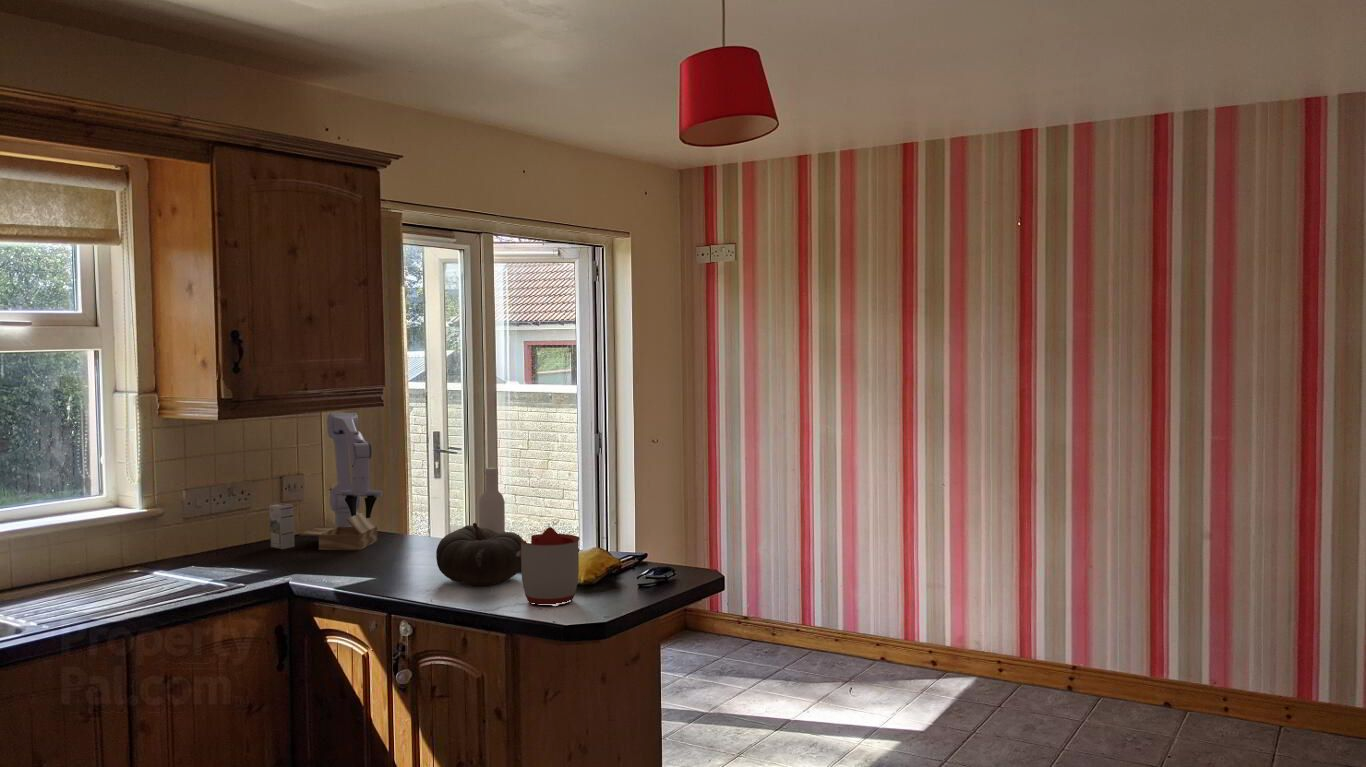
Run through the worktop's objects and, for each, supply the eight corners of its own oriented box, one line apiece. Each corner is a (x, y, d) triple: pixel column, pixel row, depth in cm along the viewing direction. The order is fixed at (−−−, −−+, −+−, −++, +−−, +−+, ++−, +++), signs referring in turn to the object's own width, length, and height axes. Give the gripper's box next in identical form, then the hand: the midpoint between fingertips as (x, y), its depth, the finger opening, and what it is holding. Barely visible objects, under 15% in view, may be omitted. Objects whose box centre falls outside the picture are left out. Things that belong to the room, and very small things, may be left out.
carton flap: (362, 512, 361) (363, 511, 361) (376, 527, 361) (377, 526, 361) (345, 519, 347) (346, 518, 347) (360, 534, 346) (361, 533, 346)
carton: (318, 540, 363) (318, 526, 363) (377, 541, 362) (377, 527, 362) (298, 549, 347) (298, 534, 347) (359, 550, 346) (359, 535, 346)
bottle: (475, 566, 320) (474, 469, 319) (485, 561, 328) (485, 466, 327) (499, 567, 318) (498, 470, 317) (509, 562, 326) (508, 467, 325)
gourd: (456, 560, 316) (462, 505, 313) (533, 576, 312) (540, 521, 309) (420, 587, 292) (426, 528, 289) (503, 605, 288) (511, 546, 285)
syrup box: (295, 546, 352) (294, 504, 351) (280, 549, 347) (279, 506, 346) (284, 545, 355) (283, 502, 354) (269, 547, 350) (268, 505, 349)
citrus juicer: (533, 592, 286) (532, 520, 285) (590, 598, 279) (589, 524, 279) (503, 605, 271) (502, 529, 270) (562, 612, 265) (562, 533, 264)
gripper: (335, 479, 350) (335, 519, 350) (377, 479, 349) (377, 519, 349) (343, 476, 357) (344, 515, 357) (384, 477, 356) (385, 516, 356)
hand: (361, 517), depth 354 cm, fingers open, 4 cm apart
